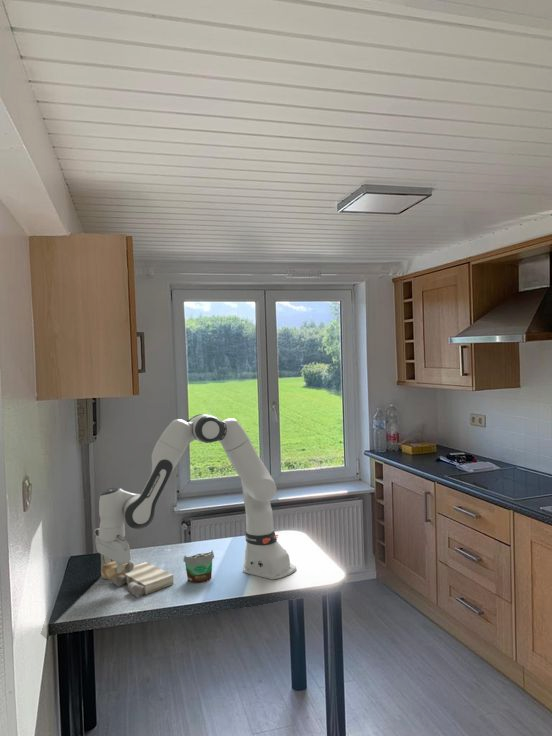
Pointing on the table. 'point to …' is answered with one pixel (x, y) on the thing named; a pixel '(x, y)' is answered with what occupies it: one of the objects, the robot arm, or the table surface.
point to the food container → (199, 567)
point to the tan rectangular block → (109, 569)
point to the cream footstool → (144, 579)
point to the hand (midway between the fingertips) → (113, 569)
